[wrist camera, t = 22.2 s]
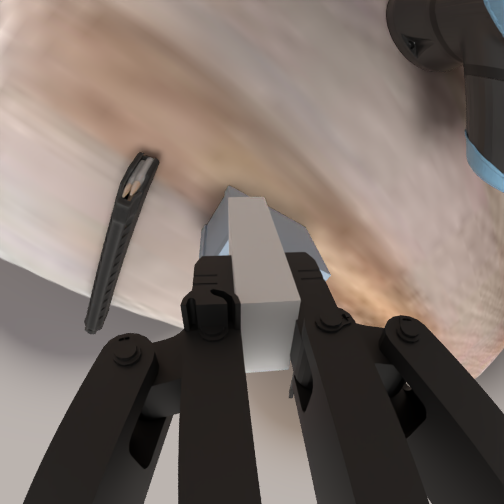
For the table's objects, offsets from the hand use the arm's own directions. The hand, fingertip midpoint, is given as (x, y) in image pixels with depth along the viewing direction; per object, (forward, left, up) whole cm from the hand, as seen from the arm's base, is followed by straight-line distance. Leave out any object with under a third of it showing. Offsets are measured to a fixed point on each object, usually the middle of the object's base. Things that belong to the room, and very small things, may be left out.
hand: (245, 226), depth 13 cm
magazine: (+17, +17, -31) cm, 39 cm away
